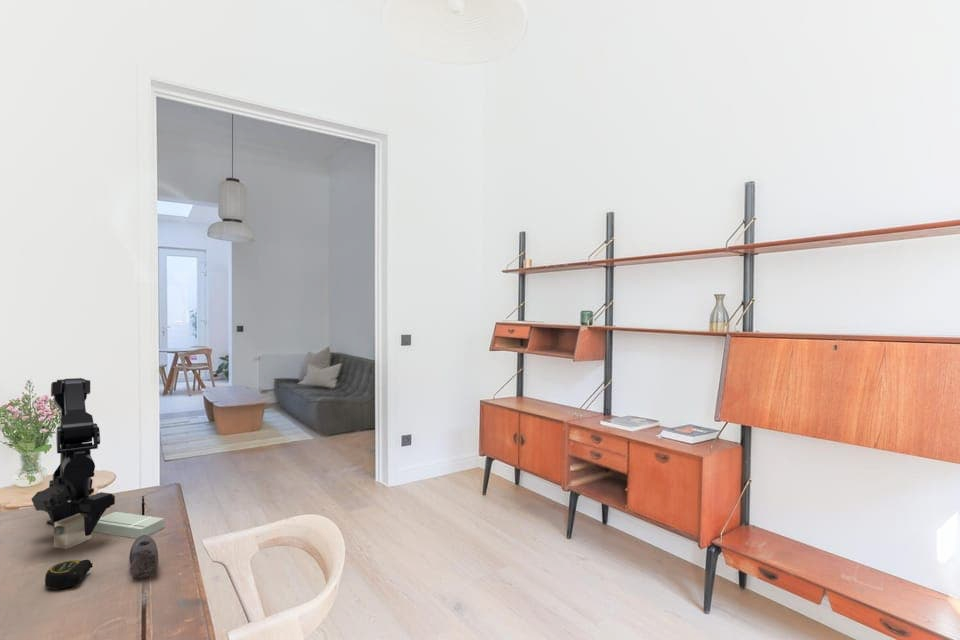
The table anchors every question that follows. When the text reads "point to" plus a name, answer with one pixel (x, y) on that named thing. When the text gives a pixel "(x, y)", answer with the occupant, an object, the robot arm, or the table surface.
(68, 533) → the stacked beige grey blocks
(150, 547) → the perforated stone tool
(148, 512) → the table surface
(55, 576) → the tape measure
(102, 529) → the painted board
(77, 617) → the table surface
